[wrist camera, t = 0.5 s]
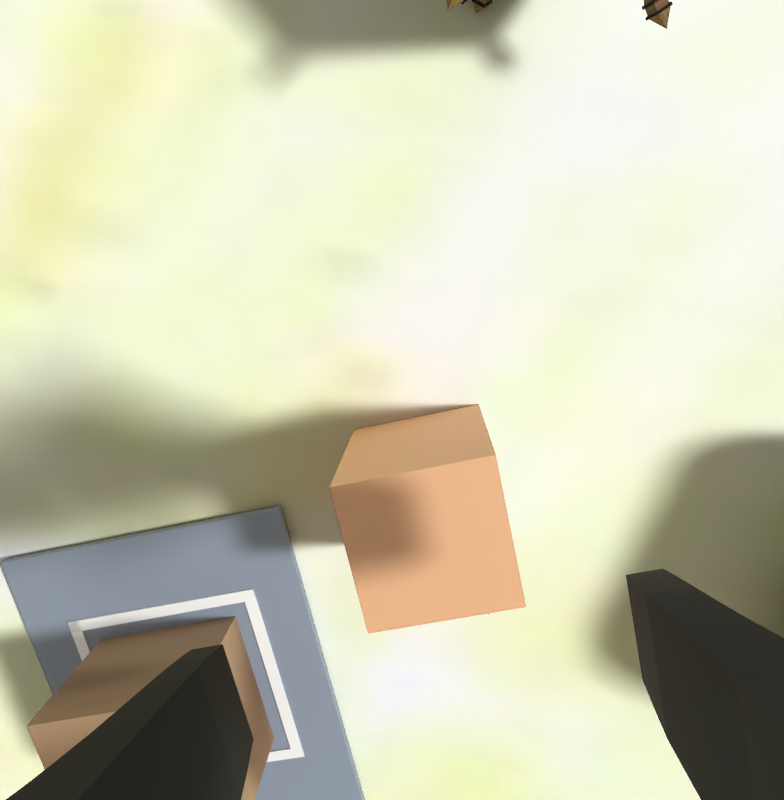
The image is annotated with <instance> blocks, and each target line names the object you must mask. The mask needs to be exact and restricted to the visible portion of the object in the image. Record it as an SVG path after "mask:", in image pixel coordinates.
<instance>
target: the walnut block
mask: <svg viewBox="0 0 784 800" xmlns="http://www.w3.org/2000/svg"><path fill="white" fill-rule="evenodd" d="M221 644H223V647H224V650H225V653H226V656H227V659H228V662H229V665H230V668H231V671H232V674H233V677H234V680H235V683H236V686H237V689H238V692H239V695H240V699H241V702H242V705H243V708H244V711H245V714H246V717H247V720H248V723H249V726H250V729H251V732H252V735H253V738H254V740H253V745H252V750H251V755H250V760H249V766H248V771H247V775H246V780H245V784H244V789H243V793H242V798H241V800H254V799H255V796H256V793H257V790H258V787H259V784H260V781H261V778H262V774H263V771H264V768H265V765H266V762H267V759H268V756H269V753H270V750H271V746H272V743H273V740H274V736H273V733H272V730H271V727H270V724H269V720H268V717H267V714H266V711H265V708H264V705H263V702H262V698H261V695H260V692H259V689H258V686H257V683H256V680H255V676H254V673H253V670H252V667H251V664H250V661H249V657H248V654H247V651H246V648H245V645H244V642H243V639H242V635H241V632H240V629H239V626H238V623H237V620H236V617H235V616H234V617H228V618H223V619H217V620H211V621H206V622H200V623H194V624H189V625H183V626H177V627H172V628H166V629H160V630H154V631H149V632H143V633H137V634H132V635H126V636H120V637H115V638H109V639H103V640H100V641H99V642H98V644H97V645H96V646H95V647H94V648H93V649H92V651H91V652H90V653H89V654H88V655H87V656H86V658H85V659H84V660H83V661H82V662H81V663H80V665H79V666H78V667H77V668H76V669H75V670H74V672H73V673H72V674H71V675H70V676H69V677H68V679H67V680H66V681H65V682H64V683H63V684H62V686H61V687H60V688H59V689H58V690H57V691H56V693H55V694H54V695H53V696H52V697H51V698H50V700H49V701H48V702H47V703H46V704H45V705H44V707H43V708H42V709H41V710H40V711H39V712H38V714H37V715H36V716H35V717H34V718H33V719H32V721H31V722H30V723H29V724H28V725H27V728H28V730H29V733H30V735H31V738H32V740H33V742H34V745H35V747H36V749H37V752H38V754H39V757H40V759H41V761H42V764H43V766H44V769H47V768H48V767H49V766H50V765H52V764H53V763H54V762H55V761H57V760H58V759H59V758H60V757H62V756H63V755H64V754H65V753H66V752H68V751H69V750H70V749H71V748H73V747H74V746H75V745H76V744H78V743H79V742H80V741H81V740H83V739H84V738H85V737H86V736H88V735H89V734H90V733H91V732H92V731H94V730H95V729H96V728H97V727H98V726H99V725H101V724H102V723H103V722H104V721H105V720H106V719H108V718H109V717H110V716H111V715H112V714H113V713H115V712H116V711H117V710H118V709H119V708H121V707H122V706H123V705H124V704H125V703H126V702H128V701H129V700H130V699H131V698H132V697H133V696H135V695H136V694H137V693H138V692H139V691H140V690H141V689H143V688H144V687H145V686H146V685H147V684H148V683H150V682H151V681H152V680H153V679H154V678H156V677H157V676H158V675H159V674H160V673H161V672H163V671H164V670H165V669H166V668H168V667H169V666H170V665H171V664H172V663H174V662H175V661H176V660H178V659H179V658H180V657H182V656H183V655H184V654H186V653H187V652H189V651H190V650H192V649H198V648H203V647H209V646H215V645H221Z"/></svg>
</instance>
